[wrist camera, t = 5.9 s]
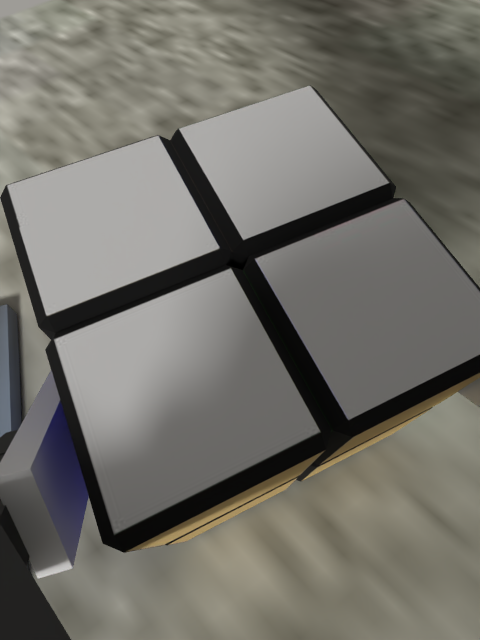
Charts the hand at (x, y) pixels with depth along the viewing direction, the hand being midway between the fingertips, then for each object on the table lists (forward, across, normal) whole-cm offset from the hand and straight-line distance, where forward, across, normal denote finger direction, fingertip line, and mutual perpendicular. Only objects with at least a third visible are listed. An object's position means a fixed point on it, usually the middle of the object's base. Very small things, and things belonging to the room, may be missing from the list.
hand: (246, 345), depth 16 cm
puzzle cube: (+3, 0, -3) cm, 5 cm away
